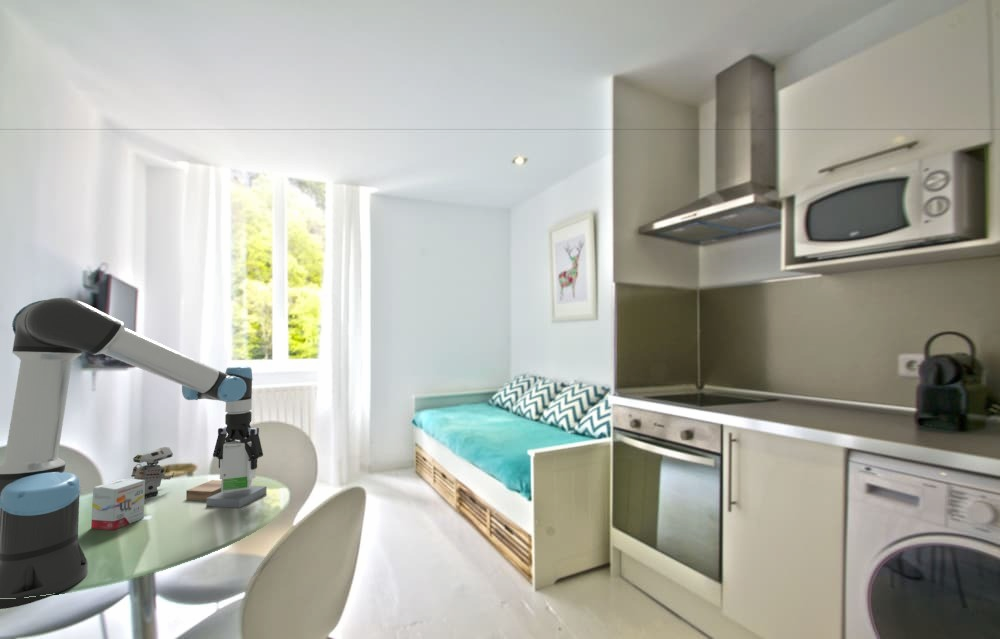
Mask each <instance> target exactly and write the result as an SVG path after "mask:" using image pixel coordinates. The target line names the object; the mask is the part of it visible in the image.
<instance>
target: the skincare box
mask: <svg viewBox="0 0 1000 639" xmlns="http://www.w3.org/2000/svg"><path fill="white" fill-rule="evenodd" d="M247 444H248V445H249V446H250V447H251V444H252V443H251V442H248V443H247ZM249 459H250V458H249V456H248V454H247V452H246V450H245V443H241V442H240V440H234V441H231V442H226V443H225V444H224V445H223V463H222V479H221V481H222V482H221V492H230V491H237V490H245V489H249V488H250V486H252V480H253V479H251V480H247V464H248V460H249Z"/></svg>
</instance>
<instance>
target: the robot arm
mask: <svg viewBox="0 0 1000 639" xmlns="http://www.w3.org/2000/svg"><path fill="white" fill-rule="evenodd" d="M11 327H12V331H13V333H14V339H13V346H12V352H11V353H12V354H14V355H15V356H16V357H17V358H19V360H20V362H19V369H18V375H17V381H16V387H15V391H14V392H15V393H14V400H13V403H12V405H13V406H12V410H11V418H10V423H9V428H8V429H9V430H8V436H7V441H6V448H5V454H4V460H3V462H2V463H0V598H16V599H0V610H4V609H11V608H16V607H20V606H25V605H28V604H31V603H35V602H38V601H41V600H44V599H47V598H50V597H52V596H53V595H46V594H53V593H57V594H59V593H61V591H62V592H64V591H66V590H68V589H70V588H72V587H73V586H75V585H76V584H78V583H79V582H81V581H82V580H84V578H85V577H86V576H87V575H88V571H89V570H88V569H89V568H88V567H89V562H88V560H87V558H86V556H85V553H84V551H83V549H82V548H81V545H80V543H79V516H80V513H79V512H80V493H81V488H82V487H81V484H80V479H79V477H78V476H77V475H76V474H74V473H73V472H72V473H71V472H68V471H67V472H66V471H65V469H66V461H64V460H63V459H62V458H60V457H59V451H60V444H61V443H60V442H61V437H62V433H63V432H62V431H63V425H64V423H63V422H64V417H65V410H66V404H67V399H68V392H69V391H68V390H69V384H70V379H71V372H72V371H71V370H72V365H73V364H72V363H73V362H74V360H75V359H77V358H78V357H80V356H81V355H82V354H83V352H85V353H88V354H91V355H93V356H97V355H101V354H102V355H106V356H108V357H110V358H113V359H116V360H118V361H121V362H123V363H125V364H128V365H130V366H133V367H136V368H139V369H141V370H142V371H146V372H148V373H151V374H154V375H156V376H158V377H160V378H163V379H166V380H167V381H170V382H171V381H172V382H173V383H175V384H179V385H180V386H181V393H182V396H183V397H184V399H185V400H186V401H198V400H205V399H206V400H211V401H212V400H213V401H220V402H223V403H224V402H225V409H224V410H225V413H226V414H225V417H224V423H225V425H226V426H223V427H220V428H218V429H217V438H216V443H215V446H214V448H213V449H214V450H213V453H212V456H213V457H214V458H217V459H218V469H219V479H220V480H222V463H223V445H224V444H225V443H226V442H231V441H234V440H240V442H241V443H245V450H246V452H247V454H248V456H249V458H250V459H249V460H248V464H247V480H251V479H252V480H254V479H255V478H256V473H257V470H256V469H257V468H258V459H260V458H261V457H263V456H264V452H263V448H262V447H263V446H262V445H261V439H260V435H259V434H260V428H259V427H254V428H253V427H251V422H252V419H253V418H252V411H251V410H252V402H253V398H252V394H253V391H252V390H253V370H252V368H251V366H248V365H247V366H242V365H241V366H229V367H227V368H226V370H225V372H223V371H221V370H218V369H216V368H214V367H211V366H210V365H208V364H205V363H203V362H200V361H198V360H196V359H194V358H192V357H190V356H187V355H185V354H183V353H181V352H179V351H178V350H175V349H173V348H171V347H168V346H166V345H163V344H162V343H159V342H157V341H155V340H153V339H150V338H148V337H146V336H144V335H142V334H139V333H137V332H135V331H133V330H131V329H128V328H126V327H125V325H124V322H123V321H121V320H120V319H118V318H115V317H113V316H111V315H109V314H107V313H106V312H104V311H102V310H99V309H98V308H96V307H93V306H92V305H90V304H89V303H86V302H83V301H81V300H78V299H75V298H69V297H54V298H49V299H43V300H42V299H41V300H37V301H33V302H32V303H29V304H27V305H25V306H24V307H22V308H21V309H20V310H19V311H18V312H16V314H15V316H14V317H13V320H12V325H11ZM248 442H251V443H252V444H251V447H250V446H249V445H248V444H247V443H248ZM40 595H46V596H40ZM29 596H36V597H29ZM24 597H29V598H24Z"/></svg>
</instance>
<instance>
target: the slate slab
mask: <svg viewBox="0 0 1000 639" xmlns="http://www.w3.org/2000/svg"><path fill="white" fill-rule="evenodd" d="M265 495H267V486H265V485H264V486H262V485H250V488H249V489H245V490H237V491H230V492H220V493H217V494H215V495H213V496H211V497H208V498H207V501H206V507H218V508H231V509H233V508H235V509H240V508H242V507H243V506H245V505H247V504H249V503H252V502H253V501H255V500H258V499H259V498H261V497H263V496H265Z"/></svg>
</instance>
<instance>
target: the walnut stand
mask: <svg viewBox="0 0 1000 639" xmlns="http://www.w3.org/2000/svg"><path fill="white" fill-rule="evenodd" d="M221 482H222V480H221V479H220V480H218V479H217V480H215V479H211V480H209V481H206V482H204V483H202V484H199V485H196V486H194V487H191V488H189V489H187V490H186V493H185V494H186V498H185V499H186V500H187V501H188V500H193V501H206V502H207V498H208V497H211V496H213V495H215V494H217V493H220V492H221Z"/></svg>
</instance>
